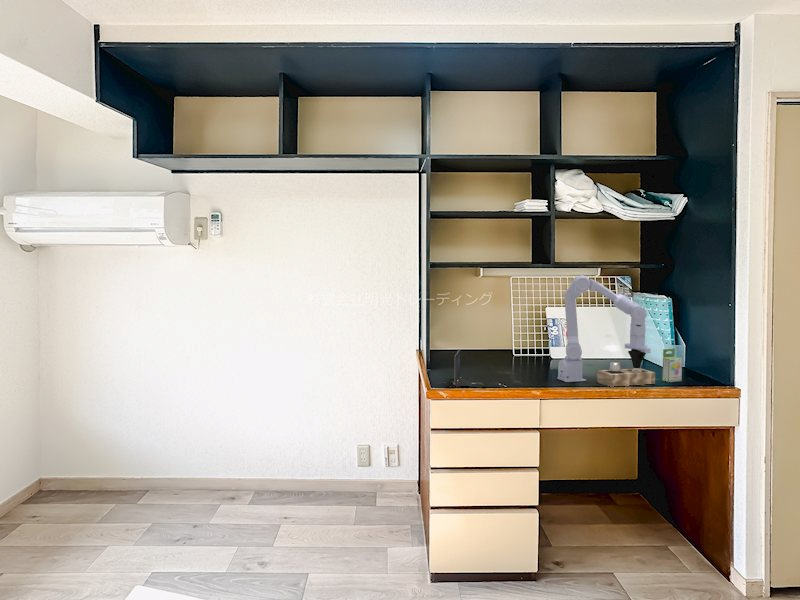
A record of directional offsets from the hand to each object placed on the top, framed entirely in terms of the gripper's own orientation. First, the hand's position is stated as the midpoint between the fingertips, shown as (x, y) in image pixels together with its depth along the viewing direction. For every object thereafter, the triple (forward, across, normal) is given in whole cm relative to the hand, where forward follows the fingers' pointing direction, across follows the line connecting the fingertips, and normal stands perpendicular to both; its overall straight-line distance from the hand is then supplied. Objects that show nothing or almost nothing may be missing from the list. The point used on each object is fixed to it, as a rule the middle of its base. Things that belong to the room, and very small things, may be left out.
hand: (636, 368), depth 254 cm
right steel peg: (+6, 0, 0) cm, 6 cm away
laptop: (+7, +17, +65) cm, 68 cm away
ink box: (+6, -1, -16) cm, 17 cm away
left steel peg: (+3, 0, +10) cm, 10 cm away
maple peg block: (+6, 0, +5) cm, 8 cm away
